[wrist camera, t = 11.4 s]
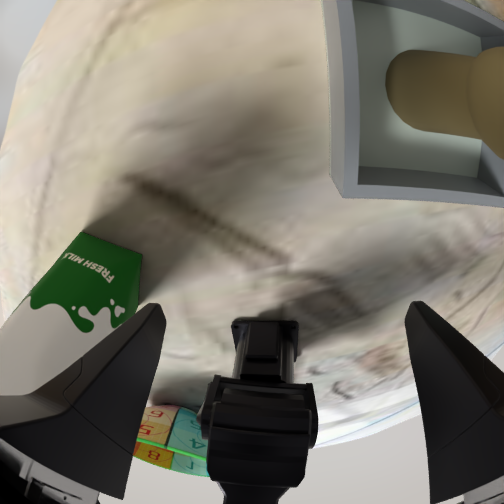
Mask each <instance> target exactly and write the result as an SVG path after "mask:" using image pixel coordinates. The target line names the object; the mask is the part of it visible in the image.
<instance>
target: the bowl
mask: <svg viewBox="0 0 504 504" xmlns="http://www.w3.org/2000/svg"><path fill="white" fill-rule="evenodd" d="M196 417H197V413H195V412H193V411H191V410H189V409H187V408H184V407H180V406H176V405H163V406H151V407H146V408H145V411H144V414H143V418H142V422H141V426H140V429H139V433H138V437H137V441H136V445H135V449H134V453H133V456H134V457H136V458H138V459H140V460H143V461H145V462H148V463H151V464H153V465H156V466H159V467H162V468H165V469H169V470H173V471H177V472H181V473H186V474H191V475H197V476H205V477H210V476H209V474H208V472H207V464H206V457H207V447H208V440H203V439H202V436H201V428H200V425H199V424H198V423H197V421H196Z"/></svg>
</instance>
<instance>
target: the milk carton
mask: <svg viewBox="0 0 504 504" xmlns="http://www.w3.org/2000/svg"><path fill="white" fill-rule="evenodd" d="M141 260H142V254H139V253H136V252H133V251H131V250H128V249H125V248H122V247H120V246H117V245H115V244H112V243H109V242H107V241H104V240H101V239H99V238H96V237H94V236H91V235H89V234H86V233H83V232H80V233H79V234H78V236H77V237H76V238H75V239H74V240H73V241H72V243H71V244H70V245H69V246H68V247H67V249H66V250H65V251H64V252H63V253H62V255H61V256H60V257H59V258H58V260H57V261H56V262H55V263H54V265H53V266H52V267H51V268H50V270H49V271H48V272H47V273H46V274H45V275H44V276H43V277H42V278H41V279H40V281H39V282H38V283H37V284H36V285H35V286H34V287H33V289H32V290H31V291H30V292H29V293H28V294H27V296H26V297H25V298H24V299H23V300H22V302H21V303H20V304H19V305H18V307H17V308H16V309H15V310H14V312H13V313H12V314H11V315H10V317H9V318H8V319H7V321H6V322H5V323H4V325H3V326H2V327H1V329H0V395H25V394H29V393H31V392H33V391H35V390H36V389H38V388H39V387H41V386H42V385H44V384H45V383H47V382H48V381H50V380H51V379H52V378H54V377H55V376H57V375H58V374H60V373H61V372H62V371H64V370H65V369H66V368H68V367H69V366H70V365H72V364H73V363H74V362H75V361H77V360H78V359H79V358H80V357H83V355H84V354H85V353H87V352H88V351H89V350H90V349H91V348H93V347H94V346H95V345H96V344H98V343H99V342H100V341H101V340H103V339H104V338H105V337H106V336H108V335H109V334H110V333H111V332H113V331H114V330H115V329H116V328H118V327H119V326H120V325H121V324H123V323H124V322H125V321H126V320H128V319H129V318H130V317H132V316H133V315H134V314H135V312H136V310H137V308H138V297H139V282H140V270H141Z"/></svg>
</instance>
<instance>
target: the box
mask: <svg viewBox="0 0 504 504" xmlns="http://www.w3.org/2000/svg"><path fill="white" fill-rule="evenodd" d="M321 4H322V12H323V21H324V30H325V41H326V53H327V67H328V85H329V112H330V176H331V178H332V180H333V182H334V183H335V185H336V187H337V189H338V191H339V192H340V194H341V196H342V198H364V199H395V200H416V201H433V202H447V203H460V204H471V205H481V206H491V207H500V208H504V160H503V159H501V158H499V157H498V156H497V155H496V154H495V153H494V152H493V151H492V150H491V149H490V148H489V147H488V146H487V145H486V144H485V143H484V142H483V141H482V140H479V139H474V138H468V137H462V136H456V135H449V134H442V133H433V132H425V131H421V130H417V129H414V128H412V127H411V126H409V125H408V124H406V123H404V122H403V121H402V120H401V119H400V117H399V116H398V115H397V114H396V113H395V112H394V110H393V108H392V106H391V104H390V102H389V100H388V97H387V92H386V88H385V79H386V71H387V69H388V67H389V64H390V62H391V61H392V60H393V59H394V58H395V57H396V56H397V55H398V54H399V53H402V52H404V51H407V50H426V51H437V52H446V53H454V54H461V55H467V56H473V57H477V56H478V54H479V53H481V52H483V51H485V50H487V49H490V48H494V47H504V22H503V21H502V20H500V19H498V18H496V17H495V16H493V15H491V14H489V13H488V12H486V11H484V10H482V9H480V8H478V7H476V6H474V5H472V4H470V3H468V2H466V1H464V0H321Z"/></svg>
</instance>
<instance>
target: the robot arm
mask: <svg viewBox="0 0 504 504" xmlns="http://www.w3.org/2000/svg"><path fill="white" fill-rule="evenodd" d="M236 325H237V326H236ZM405 328H406V334H407V340H408V347H409V354H410V360H411V365H412V369H413V373H414V378H415V382H416V387H417V392H418V397H419V402H420V407H421V413H422V419H423V425H424V432H425V440H426V448H427V457H428V470H429V485H430V504H436V503H440V502H443V501H446V500H448V499H451V498H454V497H457V496H460V495H462V494H463V495H464V501H462V502H460V503H457V504H504V373H503V372H502V371H501V370H500V369H499V368H498V367H497V366H496V365H495V364H493V363H492V362H491V361H490V360H489V359H488V358H487V357H486V356H484V354H483V353H482V352H481V351H479V350H478V349H477V348H476V347H475V346H474V345H473V344H472V343H471V342H470V341H469V340H467V339H466V338H465V337H464V336H463V335H462V334H461V333H459V332H458V331H457V330H456V329H455V328H454V327H453V326H451V325H450V324H449V323H448V322H447V321H446V320H444V319H443V318H442V317H441V316H440V315H439V314H437V313H436V312H435V311H434V310H433V309H431V308H430V307H429V306H428V305H426V304H425V303H424V302H423V301H413V302H411V304H410V306H409V309H408V312H407V314H406V317H405ZM165 329H166V318H165V315H164V313H163V310H162V308H161V305H160V304H158V303H148V304H147V305H146V306H144V307H143V308H142V309H140V310H139V311H138V312H137V313H135V314H134V315H133V316H132V317H130V318H129V319H128V320H126V321H125V322H124V323H123V324H121V325H120V326H119V327H118V328H116V329H115V330H114V331H113V332H111V333H110V334H109V335H108V336H106V337H105V338H104V339H103V340H101V341H100V342H99V343H98V344H96V345H95V346H94V347H93V348H91V349H90V350H89V351H88V352H87V353H85V354H84V355H83V357H80V358H79V359H78V360H77V361H75V362H74V363H73V364H72V365H70V366H69V367H68V368H66V369H65V370H64V371H62V372H61V373H60V374H58V375H57V376H55V377H54V378H52V379H51V380H50V381H48V382H47V383H45V384H44V385H42V386H41V387H39V388H38V389H36V390H35V391H33V392H31V393H29V394H25V395H0V504H100V502H99V501H98V496H99V492H101V493H104V494H106V495H109V496H112V497H115V498H118V499H121V500H123V498H124V493H125V489H126V484H127V479H128V475H129V471H130V466H131V461H132V458H133V453H134V449H135V445H136V441H137V437H138V433H139V429H140V426H141V422H142V418H143V414H144V411H145V407H146V404H147V400H148V397H149V393H150V390H151V386H152V383H153V379H154V376H155V373H156V369H157V366H158V363H159V359H160V354H161V349H162V344H163V339H164V334H165ZM231 329H232V334H233V339H234V344H235V349H236V358H235V363H234V369H233V375H232V378H228V377H221V376H220V375H215V376H214V379H213V382H211V383H210V384H208V389H207V393H206V397H205V400H204V402H203V404H202V406H201V408H200V410H199V412H198V414H197V417H196V421H197V423H198V424H199V425H200V428H201V436H202V439H203V440H208V447H207V457H206V464H207V472H208V474H209V476H210V478H211V480H212V481H216V482H217V484H218V485H219V487H220V489H221V490H222V492H223V494H224V501H223V504H278V501H279V498H280V497H281V496H282V495H283V494H284V493H285V492H286V491H287V490H288V489H289V488H290V487H297V486H298V485H299V484H300V483H301V481H302V480H303V478H304V476H305V467H306V462H307V456H308V449H312V448H313V447H314V445H315V443H316V439H317V434H318V413H317V407H316V401H315V395H314V389H313V384H312V383H306V384H295V383H294V362H296V358H297V345H298V330H299V325H298V323H297V322H296V321H233V322H232V325H231Z"/></svg>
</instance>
